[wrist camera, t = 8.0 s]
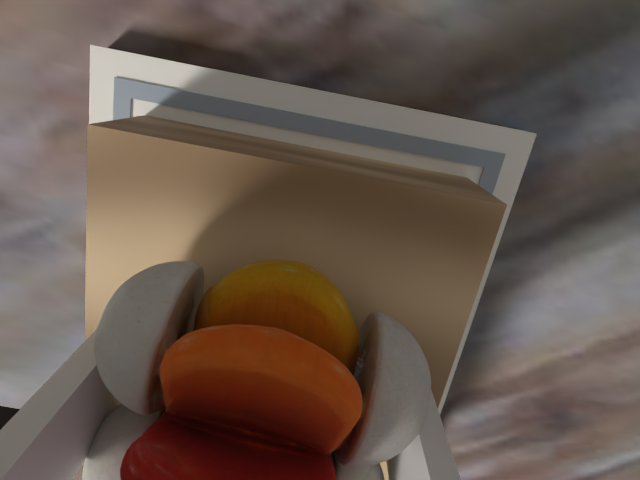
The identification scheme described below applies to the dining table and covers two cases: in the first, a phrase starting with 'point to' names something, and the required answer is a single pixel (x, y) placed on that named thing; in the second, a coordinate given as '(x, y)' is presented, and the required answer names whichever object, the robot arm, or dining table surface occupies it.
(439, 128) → the build board
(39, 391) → the robot arm
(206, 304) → the rainbow fan toy
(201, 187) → the oak plinth
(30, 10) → the dining table surface
